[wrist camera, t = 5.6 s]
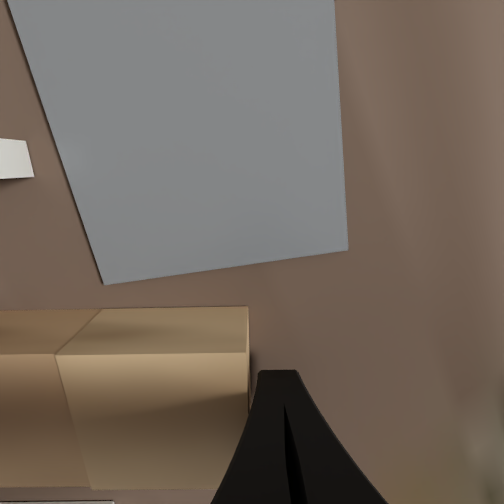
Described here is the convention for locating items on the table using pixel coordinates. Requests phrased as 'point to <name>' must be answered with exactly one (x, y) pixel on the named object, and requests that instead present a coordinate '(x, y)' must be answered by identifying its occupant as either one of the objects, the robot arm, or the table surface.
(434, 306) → the table surface
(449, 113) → the table surface
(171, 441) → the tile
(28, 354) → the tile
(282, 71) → the slate coaster
